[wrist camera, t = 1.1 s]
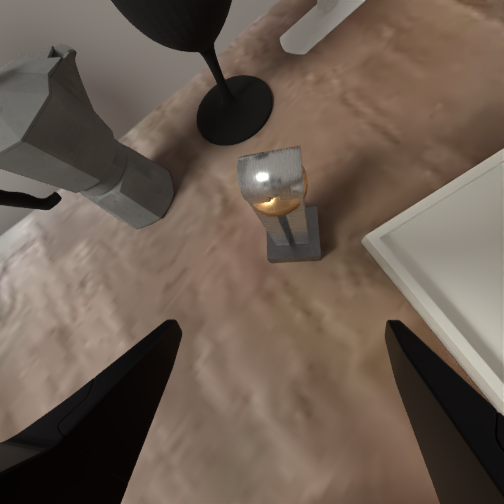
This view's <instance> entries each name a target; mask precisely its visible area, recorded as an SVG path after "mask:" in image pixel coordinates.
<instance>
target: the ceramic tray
mask: <svg viewBox="0 0 504 504" xmlns="http://www.w3.org/2000/svg"><path fill="white" fill-rule="evenodd" d="M361 243H362V245H363V246H364V247H365V248H366V249H367V251H368V252H369V253H370V254H371V256H372V257H373V258H374V259H375V261H376V262H377V263H378V264H379V265H380V267H381V268H382V269H383V270H384V272H385V273H386V274H387V275H388V277H389V278H390V279H391V280H392V281H393V283H394V284H395V285H396V286H397V288H398V289H399V290H400V291H401V293H402V294H403V295H404V296H405V297H406V299H407V300H408V301H409V302H410V304H411V305H412V306H413V307H414V309H415V310H416V311H417V312H418V313H419V315H420V316H421V317H422V318H423V320H424V321H425V322H426V323H427V325H428V326H429V327H430V328H431V329H432V331H433V332H434V333H435V334H436V336H437V337H438V338H439V339H440V341H441V342H442V343H443V344H444V345H445V347H446V348H447V349H448V350H449V352H450V353H451V354H452V355H453V357H454V358H455V359H456V360H457V361H458V363H459V364H460V365H461V366H462V368H463V369H464V370H465V371H466V373H467V374H468V375H469V376H470V377H471V379H472V380H473V381H474V382H475V384H476V385H477V386H478V387H479V389H480V390H481V391H482V392H483V393H484V395H485V396H486V397H487V398H488V400H489V401H490V402H491V403H492V405H493V406H494V407H495V408H496V409H497V411H498V412H500V413H501V414H502V415H503V416H504V149H502V150H500V151H499V152H497V153H496V154H494V155H492V156H491V157H489V158H488V159H486V160H485V161H483V162H481V163H480V164H478V165H477V166H475V167H473V168H472V169H470V170H469V171H467V172H465V173H464V174H462V175H461V176H459V177H458V178H456V179H454V180H453V181H451V182H450V183H448V184H446V185H445V186H443V187H442V188H440V189H438V190H437V191H435V192H434V193H432V194H431V195H429V196H427V197H426V198H424V199H423V200H421V201H419V202H418V203H416V204H415V205H413V206H411V207H410V208H408V209H407V210H405V211H404V212H402V213H400V214H399V215H397V216H396V217H394V218H392V219H391V220H389V221H388V222H386V223H384V224H383V225H381V226H380V227H378V228H377V229H375V230H373V231H372V232H370V233H369V234H367V235H365V237H364V238H363V240H362V241H361Z"/></svg>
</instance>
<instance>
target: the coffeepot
mask: <svg viewBox="0 0 504 504" xmlns="http://www.w3.org/2000/svg"><path fill="white" fill-rule="evenodd" d="M75 57H76V51H75V50H74V49H73V48H71V47H69V46H67V45H62V44H60V45H58V46H56V47H55V48H54V47H53V46H52V47H50V48H48V49H46V50H45V51H43V52H41V53H39V54H38V55H36V56H34V57H33V56H28V55H23V54H20V55H19V56H17V57H16V58H15V59H13V60H12V61H10V62H9V63H7V64H6V65H4V66H3V67H1V68H0V169H3V170H6V171H9V172H13V173H15V174H18V175H22V176H25V177H28V178H31V179H34V180H37V181H40V182H43V183H46V184H50V185H53V186H56V187H59V188H62V189H65V190H68V191H71V192H74V193H77V192H80V193H81V194H82V195H84V196H85V197H86V198H88V199H89V200H91V201H92V202H94V203H95V204H97V205H98V206H100V207H101V208H103V209H104V210H106V211H107V212H109V213H110V214H112V215H113V216H114V217H116V218H117V219H119V220H121V221H123V222H125V223H127V224H128V225H130V226H132V227H134V228H136V229H139V228H142V227H145V226H148V225H151V224H153V223H154V222H156V221H157V220H159V219H161V218H162V216H163V215H164V214H165V213H166V211H167V210H168V208H169V206H170V204H171V202H172V198H173V195H174V188H173V182H172V180H171V177H170V173H169V171H168V170H166V169H164V168H163V167H161V166H159V165H158V164H156V163H154V162H153V161H151V160H149V159H148V158H146V157H144V156H143V155H141V154H139V153H138V152H136V151H134V150H133V149H131V148H129V147H127V146H125V145H123V144H121V143H119V142H118V141H117V140H115V139H114V136H113V132H112V130H111V129H110V128H109V127H108V126H107V125H106V124H105V123H104V121H103V120H102V119H101V118H100V117H99V116H98V115H97V114H96V112H95V111H94V110H93V107H92V105H91V103H90V100H89V98H88V96H87V93H86V91H85V88H84V86H83V84H82V81H81V78H80V75H79V72H78V69H77V66H76V63H75ZM61 199H62V198H61V196H60V195H59V194H58V193H56V192H54V193H53V194H52V195H50V196H49V197H47V198H44V199H43V198H42V199H41V198H36V197H34V196H31V195H29V194H25V193H21V192H8V191H3V190H0V205H5V206H12V207H22V208H31V209H40V210H50V209H51V208H53V207H54V206H55V205H57V204H58V203H59V202H60V201H61Z"/></svg>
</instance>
